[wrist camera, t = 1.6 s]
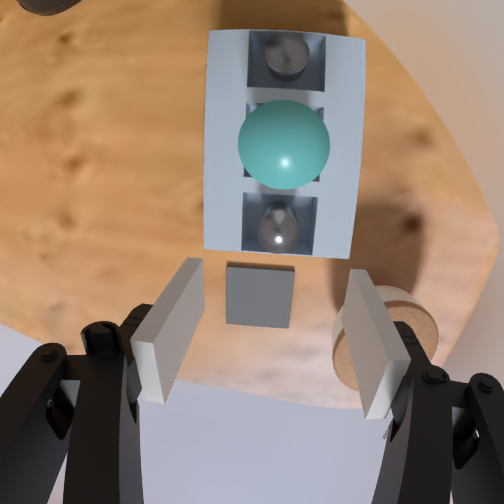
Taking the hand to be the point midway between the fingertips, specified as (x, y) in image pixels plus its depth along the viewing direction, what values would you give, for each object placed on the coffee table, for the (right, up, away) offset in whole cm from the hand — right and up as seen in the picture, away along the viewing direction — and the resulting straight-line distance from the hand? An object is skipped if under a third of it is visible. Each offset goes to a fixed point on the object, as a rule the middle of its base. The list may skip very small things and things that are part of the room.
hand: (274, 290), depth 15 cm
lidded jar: (+12, -5, +19) cm, 23 cm away
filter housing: (+2, +12, +13) cm, 18 cm away
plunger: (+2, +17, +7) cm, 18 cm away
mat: (0, -3, +20) cm, 20 cm away
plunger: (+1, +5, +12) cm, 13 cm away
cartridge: (+2, +11, +11) cm, 16 cm away
